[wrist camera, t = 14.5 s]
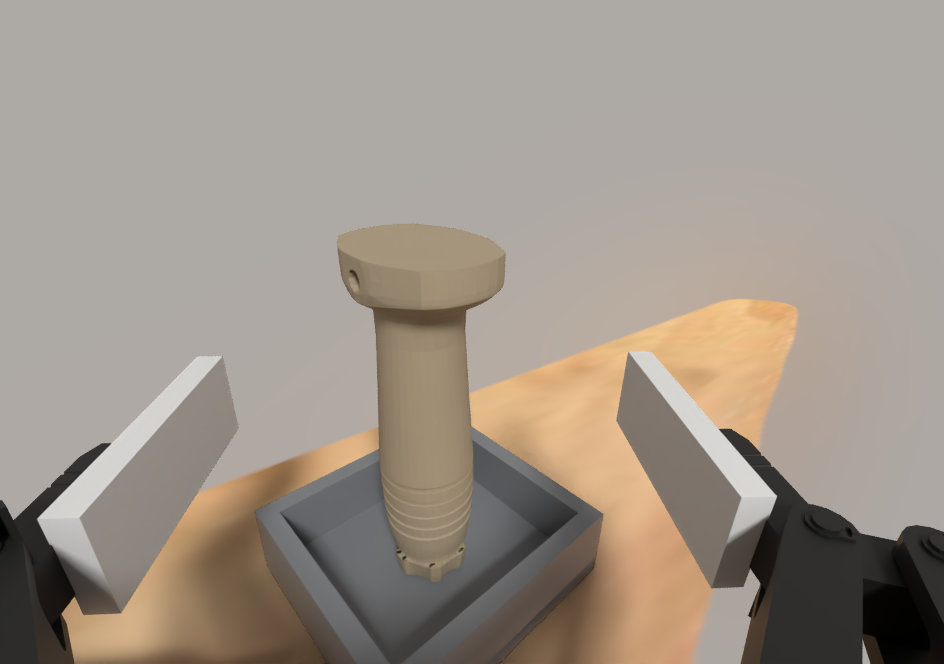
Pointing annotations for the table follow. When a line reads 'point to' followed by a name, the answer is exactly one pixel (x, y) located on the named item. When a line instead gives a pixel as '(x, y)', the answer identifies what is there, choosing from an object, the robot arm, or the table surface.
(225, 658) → the table surface
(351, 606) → the tray
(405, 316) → the handle
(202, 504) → the table surface
